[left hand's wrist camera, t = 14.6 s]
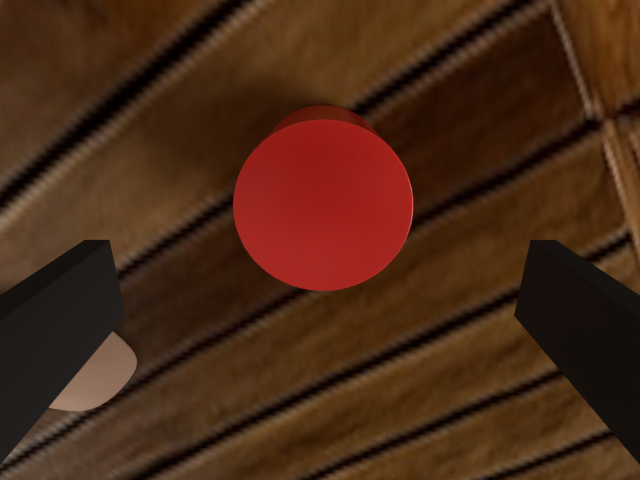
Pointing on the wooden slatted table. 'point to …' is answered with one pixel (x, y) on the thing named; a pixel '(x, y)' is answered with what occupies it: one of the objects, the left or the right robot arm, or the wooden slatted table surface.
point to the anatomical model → (99, 377)
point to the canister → (323, 200)
